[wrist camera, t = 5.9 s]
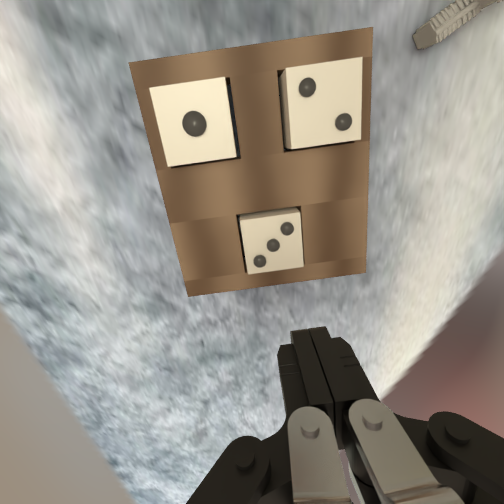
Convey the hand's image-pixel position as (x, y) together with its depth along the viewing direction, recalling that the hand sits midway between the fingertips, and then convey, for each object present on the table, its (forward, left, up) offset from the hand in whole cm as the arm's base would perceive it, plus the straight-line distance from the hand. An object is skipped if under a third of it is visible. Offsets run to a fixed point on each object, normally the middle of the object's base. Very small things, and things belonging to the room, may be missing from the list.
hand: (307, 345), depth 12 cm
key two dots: (-4, -10, -15) cm, 19 cm away
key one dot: (+5, -10, -15) cm, 19 cm away
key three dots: (0, 0, -16) cm, 16 cm away
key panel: (0, -5, -17) cm, 17 cm away
